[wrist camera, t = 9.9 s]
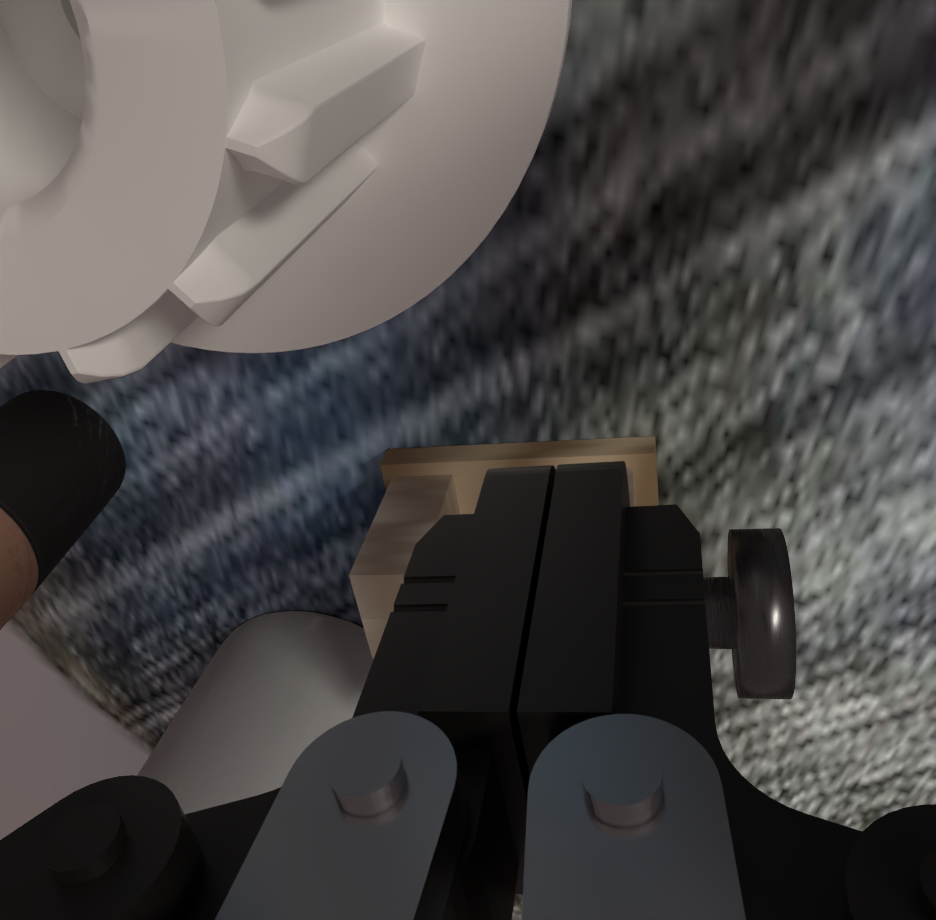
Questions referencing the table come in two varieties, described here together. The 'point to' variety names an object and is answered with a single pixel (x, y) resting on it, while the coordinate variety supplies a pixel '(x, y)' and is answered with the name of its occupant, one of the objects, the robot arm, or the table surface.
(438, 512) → the block
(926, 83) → the table surface
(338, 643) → the utensil holder
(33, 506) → the travel mug
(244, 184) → the ribbed cylinder on disc
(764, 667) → the shaft
